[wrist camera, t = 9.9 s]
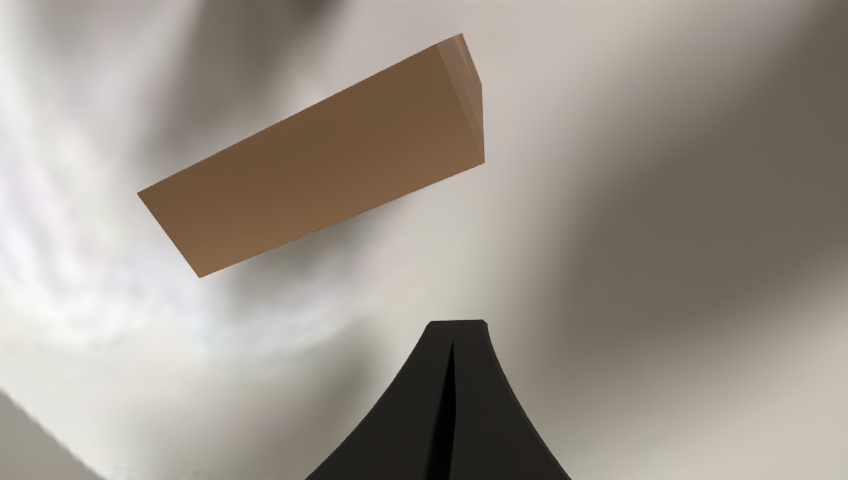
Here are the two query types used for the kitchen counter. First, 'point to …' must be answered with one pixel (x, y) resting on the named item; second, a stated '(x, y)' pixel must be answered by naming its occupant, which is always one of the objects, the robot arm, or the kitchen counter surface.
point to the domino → (328, 161)
